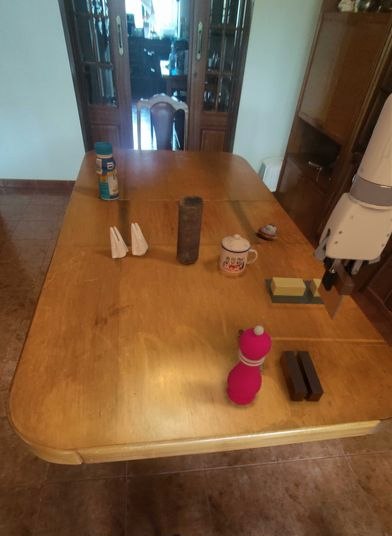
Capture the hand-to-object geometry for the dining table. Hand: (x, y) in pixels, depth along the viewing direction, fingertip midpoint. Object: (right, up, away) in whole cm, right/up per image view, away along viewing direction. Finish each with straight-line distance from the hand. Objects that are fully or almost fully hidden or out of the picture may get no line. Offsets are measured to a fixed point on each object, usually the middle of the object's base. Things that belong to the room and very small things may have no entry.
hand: (332, 286), depth 63 cm
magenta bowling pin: (-14, -13, +16) cm, 25 cm away
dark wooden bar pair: (-4, -20, +10) cm, 22 cm away
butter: (0, +5, +33) cm, 33 cm away
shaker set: (-49, +19, +43) cm, 68 cm away
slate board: (+3, +4, +34) cm, 34 cm away
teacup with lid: (-14, +14, +42) cm, 46 cm away
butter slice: (+9, +5, +33) cm, 35 cm away
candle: (-30, +17, +43) cm, 55 cm away
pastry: (0, +31, +59) cm, 67 cm away
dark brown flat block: (0, -3, +3) cm, 4 cm away
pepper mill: (-17, -22, +7) cm, 29 cm away
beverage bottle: (-65, +53, +74) cm, 112 cm away
